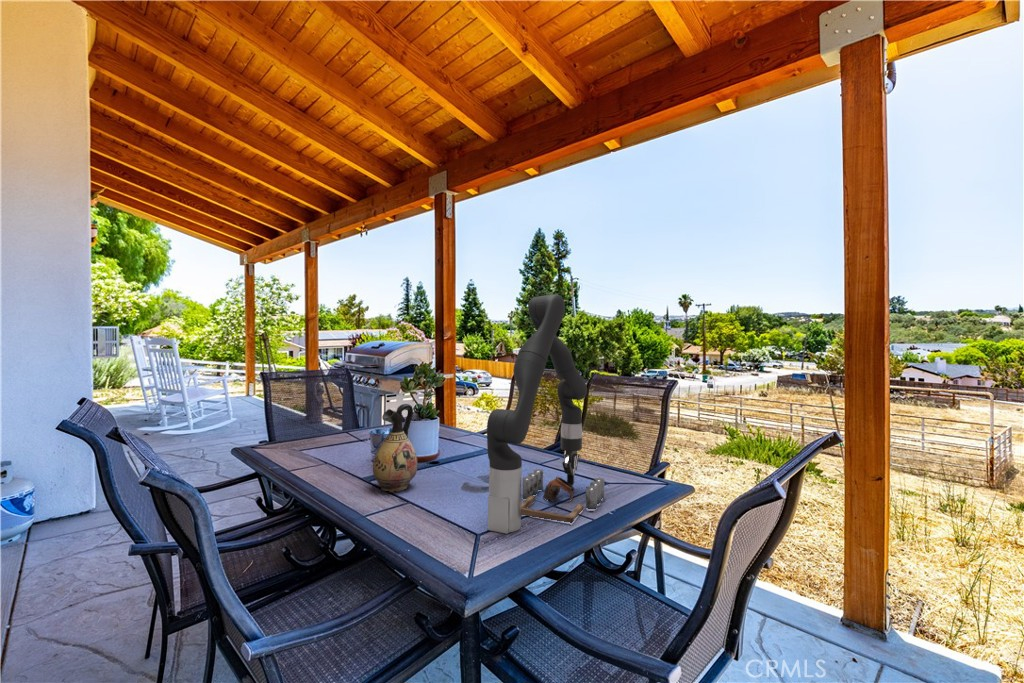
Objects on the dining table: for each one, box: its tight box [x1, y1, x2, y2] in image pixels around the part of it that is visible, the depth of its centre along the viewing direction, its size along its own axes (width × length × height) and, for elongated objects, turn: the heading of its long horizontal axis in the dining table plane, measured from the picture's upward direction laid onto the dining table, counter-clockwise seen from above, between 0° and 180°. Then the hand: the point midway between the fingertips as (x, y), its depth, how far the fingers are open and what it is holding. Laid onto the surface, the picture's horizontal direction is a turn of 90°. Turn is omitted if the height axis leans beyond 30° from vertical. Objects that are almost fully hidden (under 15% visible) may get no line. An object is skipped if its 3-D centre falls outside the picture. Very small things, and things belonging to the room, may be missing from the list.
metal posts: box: [521, 468, 605, 509], centre depth 150 cm, size 14×26×7 cm, turn 65°
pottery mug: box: [542, 476, 575, 502], centre depth 149 cm, size 12×10×8 cm
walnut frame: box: [521, 496, 585, 523], centre depth 138 cm, size 12×18×2 cm
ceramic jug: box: [372, 403, 418, 493], centre depth 159 cm, size 17×15×30 cm
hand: (570, 484), depth 158 cm, fingers closed
